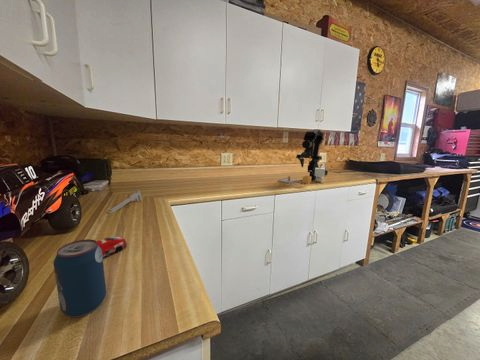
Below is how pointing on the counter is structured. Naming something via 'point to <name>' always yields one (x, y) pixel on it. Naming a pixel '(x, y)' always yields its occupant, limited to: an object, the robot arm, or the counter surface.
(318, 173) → the pneumatic valve
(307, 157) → the robot arm
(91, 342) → the counter surface
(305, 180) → the wire nut cap
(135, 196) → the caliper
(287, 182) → the junction plate
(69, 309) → the soda can
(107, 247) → the race car
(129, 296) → the counter surface
